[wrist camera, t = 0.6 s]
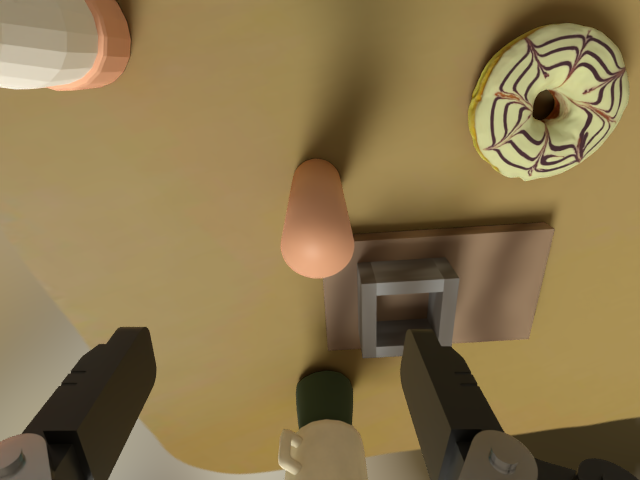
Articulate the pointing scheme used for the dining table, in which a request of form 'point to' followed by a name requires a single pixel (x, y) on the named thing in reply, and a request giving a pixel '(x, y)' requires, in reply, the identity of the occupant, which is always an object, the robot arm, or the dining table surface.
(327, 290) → the holder
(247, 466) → the dining table surface
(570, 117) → the decorated donut
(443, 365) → the robot arm
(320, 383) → the character mug
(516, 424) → the dining table surface
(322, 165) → the peg
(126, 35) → the pepper shaker
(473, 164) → the dining table surface
